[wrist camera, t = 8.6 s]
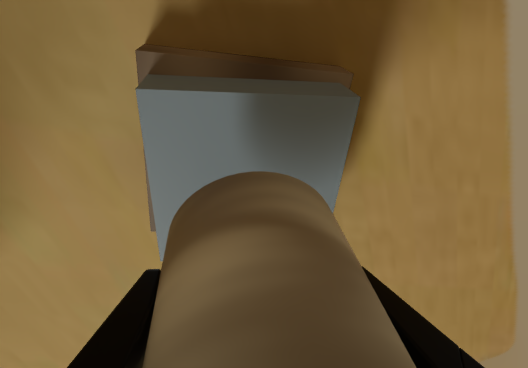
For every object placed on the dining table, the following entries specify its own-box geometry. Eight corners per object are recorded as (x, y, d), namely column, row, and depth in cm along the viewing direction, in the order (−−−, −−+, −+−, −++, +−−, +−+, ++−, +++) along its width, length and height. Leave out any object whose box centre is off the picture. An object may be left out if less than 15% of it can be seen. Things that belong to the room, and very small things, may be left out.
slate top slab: (166, 230, 18) (160, 261, 16) (147, 74, 13) (135, 88, 11) (311, 225, 20) (323, 253, 17) (339, 82, 15) (360, 97, 13)
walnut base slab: (157, 206, 20) (150, 231, 18) (146, 42, 15) (135, 50, 13) (302, 209, 22) (311, 232, 20) (336, 64, 17) (353, 74, 15)
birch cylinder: (170, 300, 12) (138, 523, 7) (164, 166, 9) (97, 392, 4) (314, 295, 13) (378, 484, 8) (353, 175, 10) (495, 358, 5)
